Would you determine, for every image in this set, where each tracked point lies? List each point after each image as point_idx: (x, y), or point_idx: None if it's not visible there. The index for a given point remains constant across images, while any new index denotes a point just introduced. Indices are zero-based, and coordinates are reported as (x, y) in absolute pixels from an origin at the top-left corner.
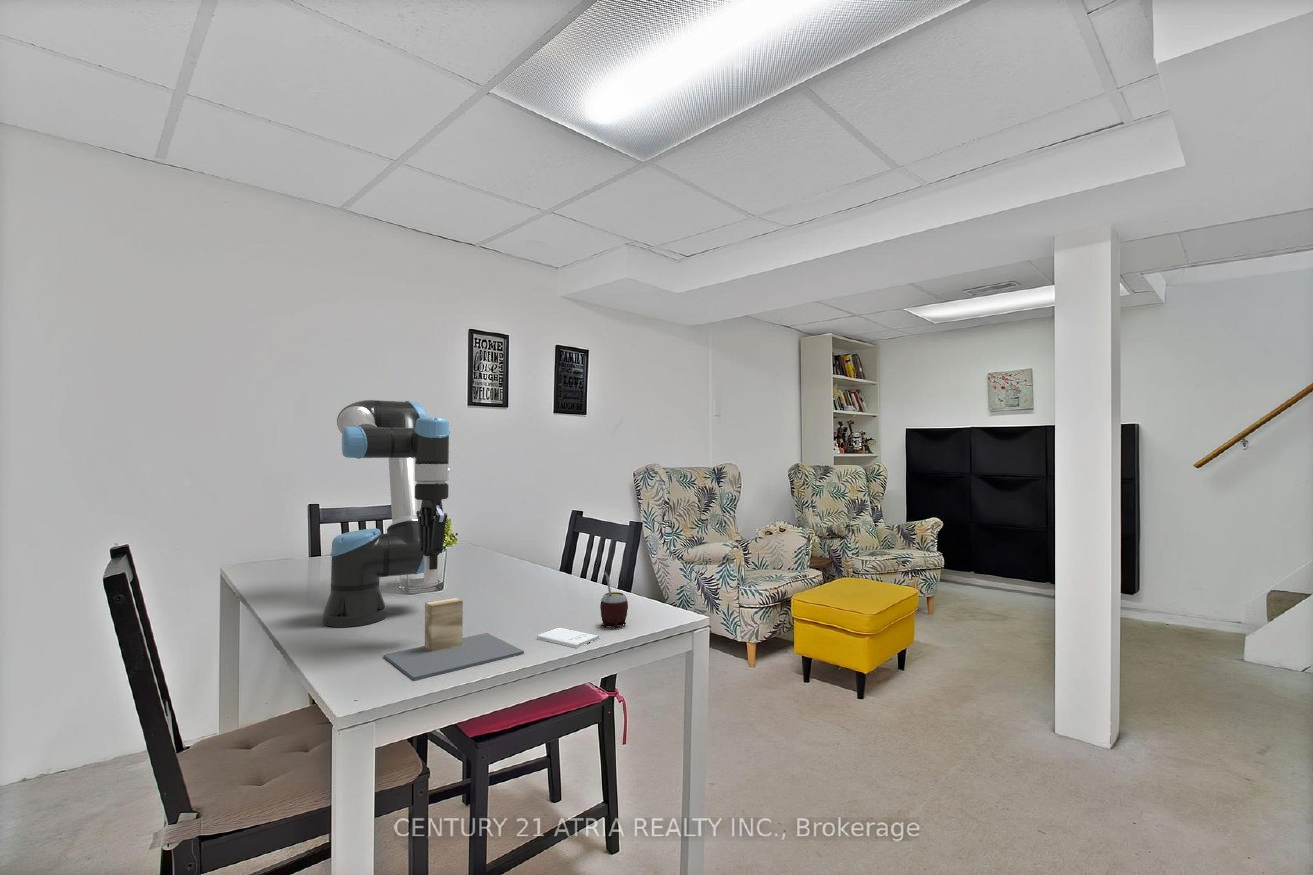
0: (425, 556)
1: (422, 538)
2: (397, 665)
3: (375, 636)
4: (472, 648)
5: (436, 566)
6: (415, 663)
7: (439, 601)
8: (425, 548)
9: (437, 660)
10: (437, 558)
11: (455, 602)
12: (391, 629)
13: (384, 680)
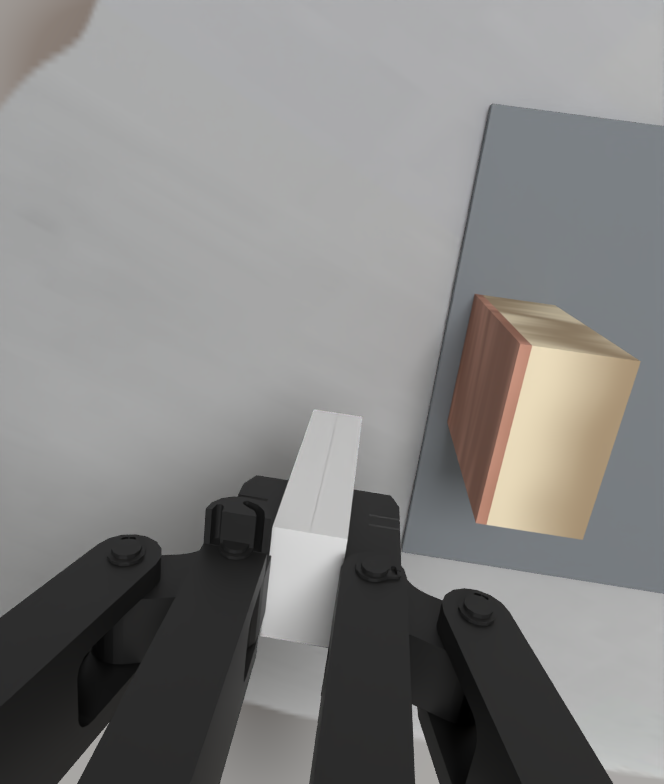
0: (298, 636)
1: (62, 768)
2: (548, 574)
3: (128, 452)
4: (637, 303)
5: (398, 516)
6: (590, 534)
7: (524, 462)
8: (246, 687)
9: (635, 473)
10: (348, 520)
11: (623, 406)
12: (68, 365)
13: (616, 639)
